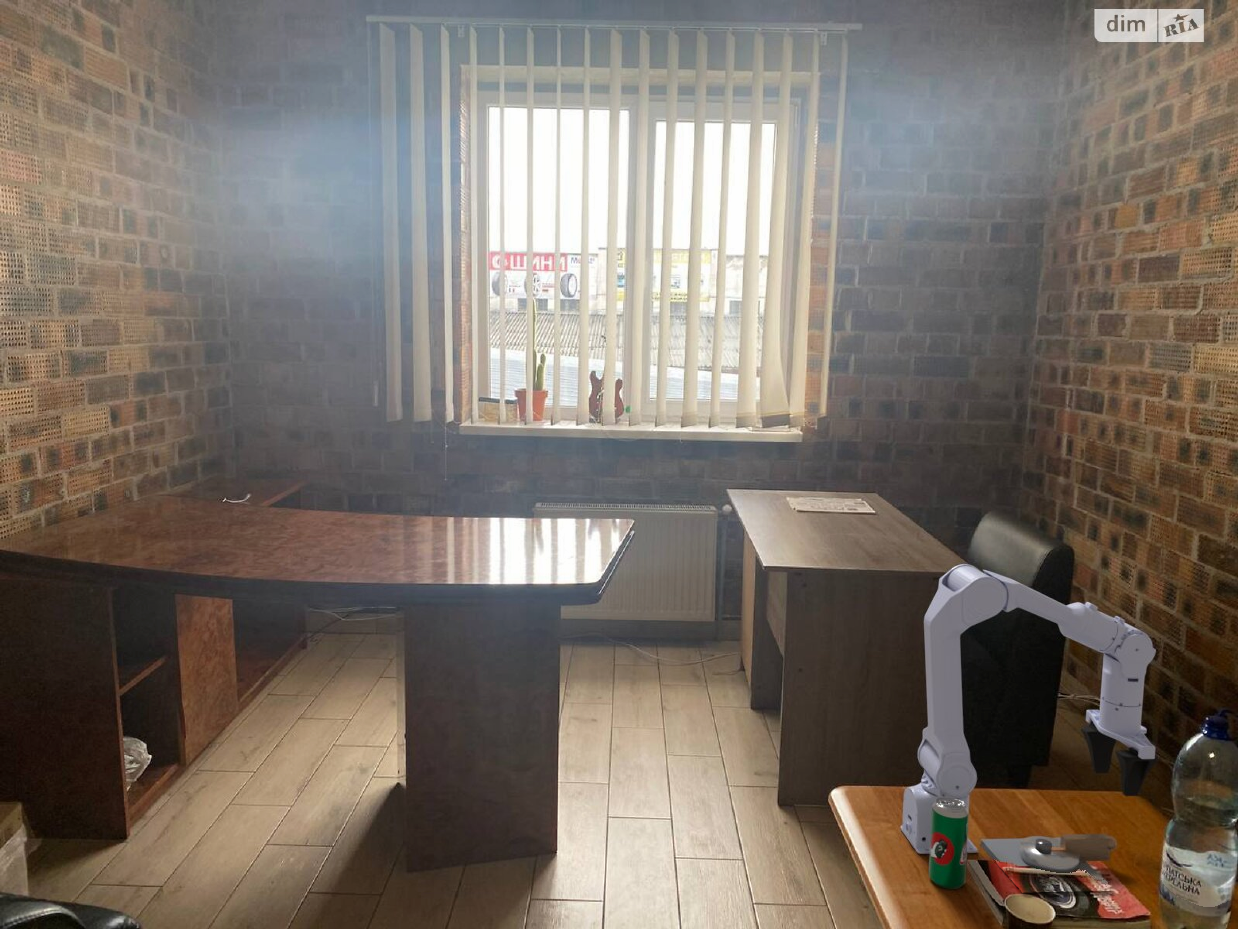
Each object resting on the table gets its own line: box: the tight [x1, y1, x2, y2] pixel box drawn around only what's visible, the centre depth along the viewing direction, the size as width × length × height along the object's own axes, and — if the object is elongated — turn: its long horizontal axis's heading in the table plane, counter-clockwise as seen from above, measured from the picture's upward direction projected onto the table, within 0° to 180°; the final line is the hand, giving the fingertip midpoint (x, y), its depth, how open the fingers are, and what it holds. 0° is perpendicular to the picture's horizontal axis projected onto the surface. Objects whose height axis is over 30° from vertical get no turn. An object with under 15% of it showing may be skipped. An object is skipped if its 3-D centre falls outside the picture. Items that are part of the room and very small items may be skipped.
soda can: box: [928, 797, 970, 890], centre depth 130 cm, size 5×5×12 cm
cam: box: [1020, 833, 1118, 873], centre depth 134 cm, size 14×8×4 cm, turn 93°
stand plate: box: [980, 837, 1111, 886], centre depth 134 cm, size 13×13×1 cm
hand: (1115, 783), depth 141 cm, fingers open, 7 cm apart
